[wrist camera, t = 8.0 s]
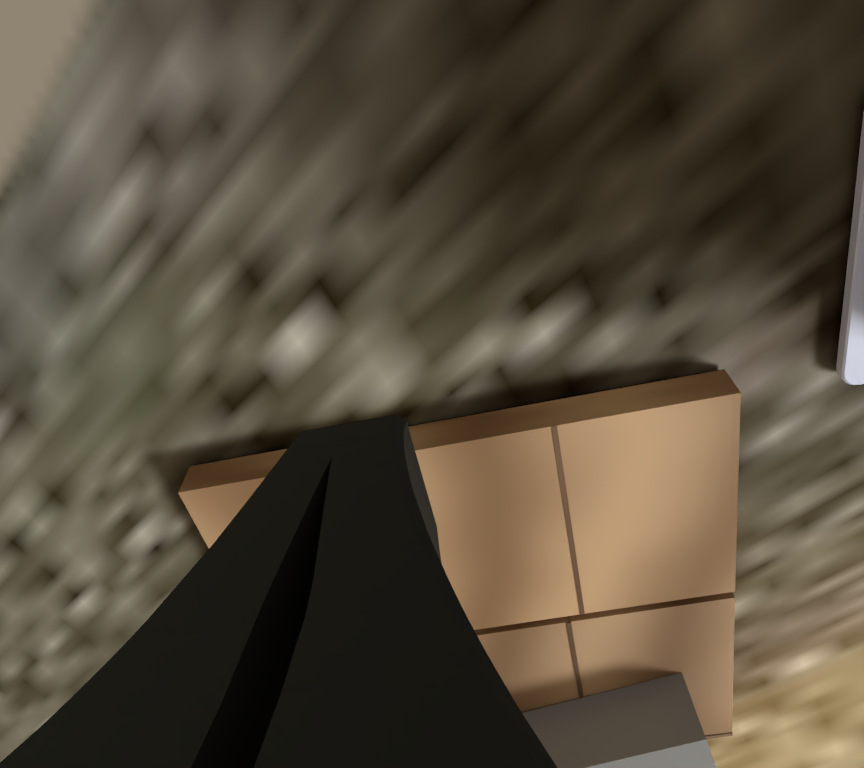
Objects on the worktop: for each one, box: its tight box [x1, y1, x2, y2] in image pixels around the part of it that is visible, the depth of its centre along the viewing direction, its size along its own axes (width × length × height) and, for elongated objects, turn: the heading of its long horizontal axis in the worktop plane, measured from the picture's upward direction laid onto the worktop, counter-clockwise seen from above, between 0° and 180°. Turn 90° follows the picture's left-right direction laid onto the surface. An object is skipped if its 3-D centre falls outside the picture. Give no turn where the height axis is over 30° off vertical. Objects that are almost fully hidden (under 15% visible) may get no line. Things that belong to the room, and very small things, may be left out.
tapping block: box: [522, 673, 716, 768], centre depth 25 cm, size 7×3×2 cm, turn 112°
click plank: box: [178, 369, 741, 630], centre depth 22 cm, size 16×8×1 cm, turn 102°
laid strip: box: [474, 592, 735, 739], centre depth 26 cm, size 16×8×1 cm, turn 102°
